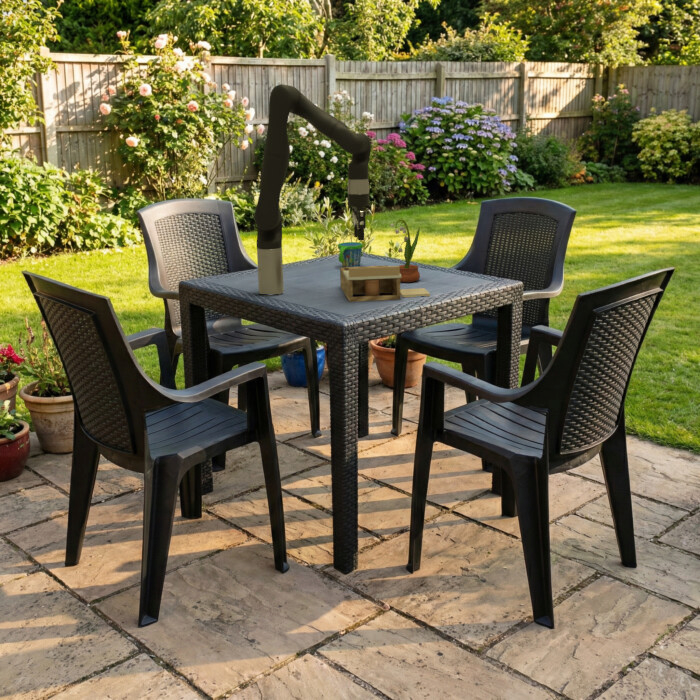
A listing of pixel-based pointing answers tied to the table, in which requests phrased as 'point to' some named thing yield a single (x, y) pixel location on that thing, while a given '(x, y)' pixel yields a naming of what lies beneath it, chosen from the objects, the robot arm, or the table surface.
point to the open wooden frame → (359, 287)
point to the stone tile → (414, 292)
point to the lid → (372, 273)
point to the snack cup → (350, 254)
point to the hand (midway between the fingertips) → (359, 238)
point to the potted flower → (408, 256)
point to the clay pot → (371, 287)
